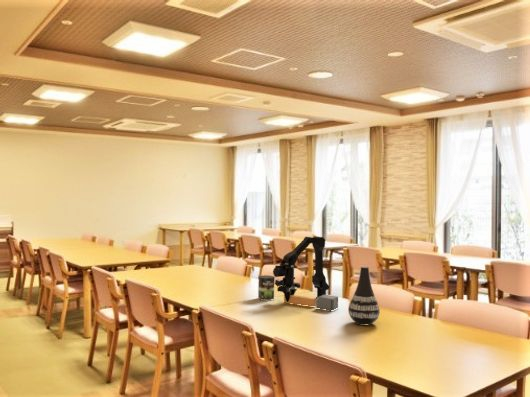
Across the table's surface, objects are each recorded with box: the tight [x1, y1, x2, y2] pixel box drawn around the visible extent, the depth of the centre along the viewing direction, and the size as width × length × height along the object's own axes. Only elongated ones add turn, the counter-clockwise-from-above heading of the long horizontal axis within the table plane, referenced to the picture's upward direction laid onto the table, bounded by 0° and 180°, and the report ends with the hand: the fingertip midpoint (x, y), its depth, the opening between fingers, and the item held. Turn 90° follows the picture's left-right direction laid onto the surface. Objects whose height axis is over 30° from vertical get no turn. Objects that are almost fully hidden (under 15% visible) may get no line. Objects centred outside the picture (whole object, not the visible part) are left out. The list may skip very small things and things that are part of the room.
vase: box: [348, 266, 381, 325], centre depth 251 cm, size 16×16×30 cm
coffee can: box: [257, 275, 276, 301], centre depth 306 cm, size 10×10×14 cm
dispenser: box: [315, 294, 339, 310], centre depth 281 cm, size 10×8×7 cm
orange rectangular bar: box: [283, 294, 316, 306], centre depth 291 cm, size 20×3×5 cm, turn 58°
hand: (288, 301), depth 295 cm, fingers closed on orange rectangular bar, 3 cm apart
